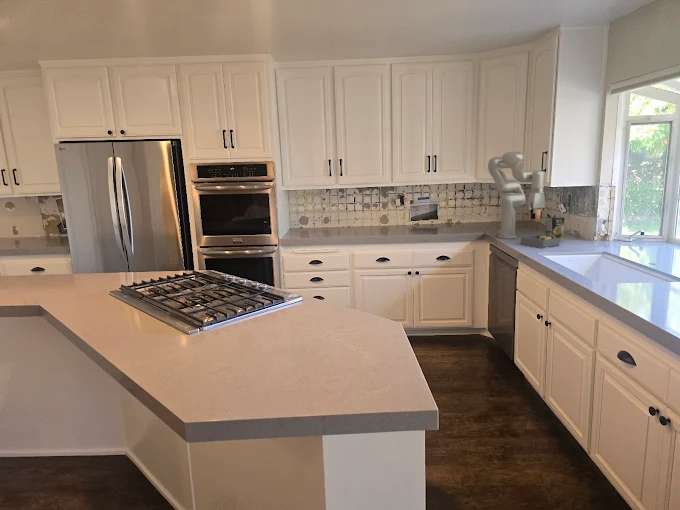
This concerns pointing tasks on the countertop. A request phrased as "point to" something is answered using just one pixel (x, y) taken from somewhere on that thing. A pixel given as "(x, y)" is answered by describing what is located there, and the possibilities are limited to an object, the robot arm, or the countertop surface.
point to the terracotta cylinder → (537, 214)
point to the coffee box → (555, 227)
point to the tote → (539, 241)
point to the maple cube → (544, 238)
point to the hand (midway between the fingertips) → (536, 218)
